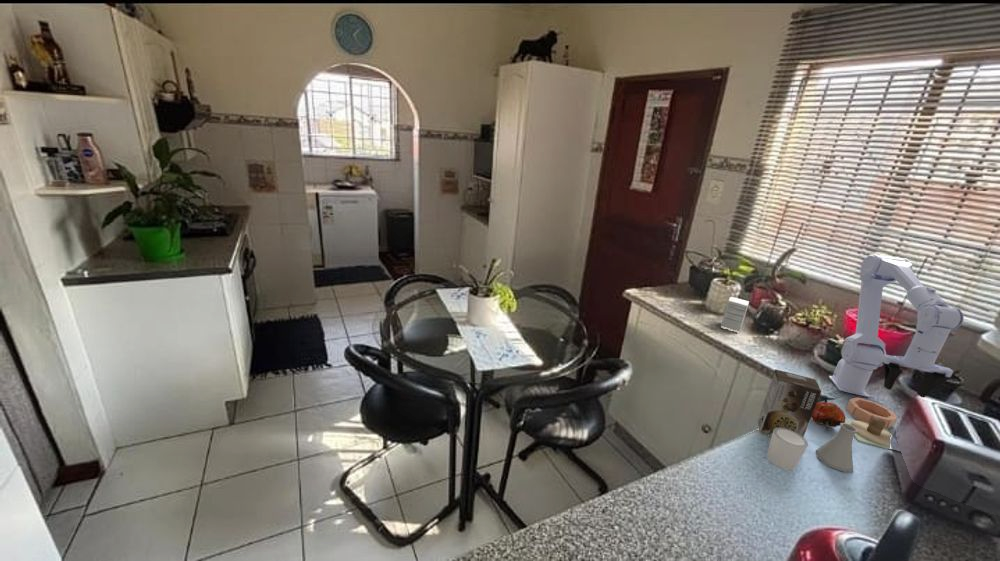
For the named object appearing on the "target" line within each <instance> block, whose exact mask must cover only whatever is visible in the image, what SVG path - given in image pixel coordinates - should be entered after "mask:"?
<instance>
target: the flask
mask: <svg viewBox="0 0 1000 561" xmlns="http://www.w3.org/2000/svg"><path fill="white" fill-rule="evenodd" d="M839 426H840V427H839V429H838V432H836V434H835V435H834V436H833V437H831V438H830V439H829V440H828V441H827V442H826V443H823V444H822V445H821V446H820V447H818V448H817V449H816V450H815V453H816V456H817V458H818V460H820V461H821V462H822V463H824V465H826V466H827V467H829V468H832V469H835V470H838V471H840V472H845V473H846V472H847V473H848V472H851V473H852V472H854V462H853V461H854V459H853V441H854V438H855V437H854V435H855V433H858V431H857V429H856V428H855V427H854V426H852V425H850V424H846V423H840V425H839Z"/></svg>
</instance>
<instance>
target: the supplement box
mask: <svg viewBox="0 0 1000 561" xmlns="http://www.w3.org/2000/svg"><path fill="white" fill-rule="evenodd" d="M749 304H750V301H749V300H745V299H742V298H739V297H738V298H737V297H733V296H730V297H729V299H728V301H727V304H726V306H725V310H724V313H723V318H722V321H721V324H720V327H721V326H724V327H727V328H730V329H733V330H737V331H740V332H741V329H742V328H743V327H742V326H743V324H744V320H745V317H746V314H747V310H748V307H749Z"/></svg>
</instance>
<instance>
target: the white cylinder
mask: <svg viewBox="0 0 1000 561" xmlns="http://www.w3.org/2000/svg"><path fill="white" fill-rule="evenodd" d="M808 446H809V443H808V441H807V440H806V438H805V436H804V437H802V436H801V435H799V434H798V433H796V432H794V431H792V430H789V429H786V428H775V429H774V430H773V433H772V437H770V442H769V447H768V450H767V455H768V458H769V459H768V458H767V459H768V460H769V462H770V463H772V464H773V465H775V466H776V467H778V468H779V467H780V468H779V469H782V468H783V469H782V470H785V469H786V471H794V470H793V469H795V468H796V467H797V466H798V463H799V462H800V460H801V459H802V457H803V455H804V453H805V452H806V450H807V448H808Z"/></svg>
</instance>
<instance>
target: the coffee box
mask: <svg viewBox="0 0 1000 561" xmlns="http://www.w3.org/2000/svg"><path fill="white" fill-rule="evenodd" d="M821 394H822V390H821V388H820V385H819V384H818V382H817V380H816V379H814V378H811V377H808V376H803V375H800V374H797V373H796V374H795V373H792V372H787V371H783V370H780V369H774V372H773V375H772V378H771V381H770V383H769V386H768V390H767V391H766V395H765V398H764V400H763V403H762V405H761V409H760V412H759V414H758V417H757V426H758V431H759V430H760V431H759V433H760V434H762V435H765V434H766V435H765V436H768V435H769V436H768V437H771V436H772V433H773V430H774V429H775V428H786V429H789V430H792V431H794V432H796V433H798V434H799V435H801V436H802V437H804V438H805V435H806V432H807V429H808V428H809V427H808V426H809V424H810V421H811V419H812V418H811V417H812V414H813V411H814V409H815V406H816V404H817V403H818V401H819V398H820V396H821Z"/></svg>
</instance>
